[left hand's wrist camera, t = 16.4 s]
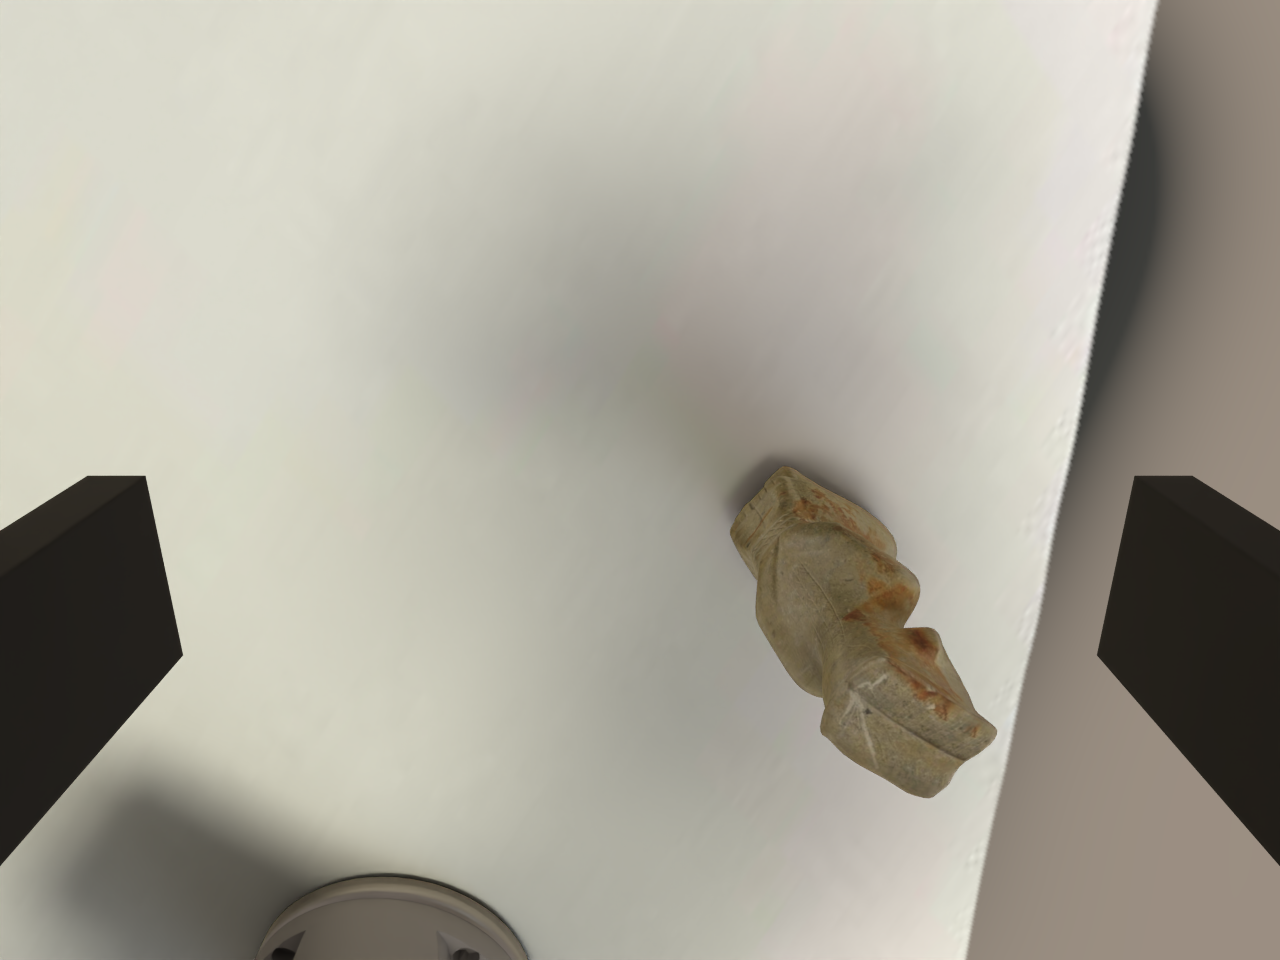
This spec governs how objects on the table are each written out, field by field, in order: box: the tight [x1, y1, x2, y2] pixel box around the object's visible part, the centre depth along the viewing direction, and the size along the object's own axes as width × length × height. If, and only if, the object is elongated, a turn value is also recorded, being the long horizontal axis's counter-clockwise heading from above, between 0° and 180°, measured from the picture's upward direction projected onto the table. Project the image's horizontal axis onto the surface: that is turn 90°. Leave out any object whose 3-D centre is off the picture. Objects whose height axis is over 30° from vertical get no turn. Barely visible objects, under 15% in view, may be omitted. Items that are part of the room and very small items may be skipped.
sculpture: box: [730, 466, 997, 798], centre depth 34 cm, size 6×7×15 cm
